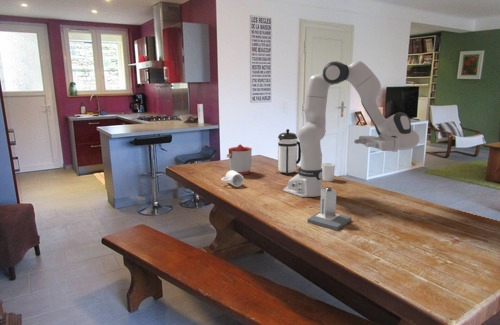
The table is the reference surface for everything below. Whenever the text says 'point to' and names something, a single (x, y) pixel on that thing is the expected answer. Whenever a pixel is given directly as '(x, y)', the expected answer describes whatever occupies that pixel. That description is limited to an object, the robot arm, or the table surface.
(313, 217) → the dock board
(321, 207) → the aluminium block
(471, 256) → the table surface
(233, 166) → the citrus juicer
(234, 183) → the mug
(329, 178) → the white cup
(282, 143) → the coffee press
